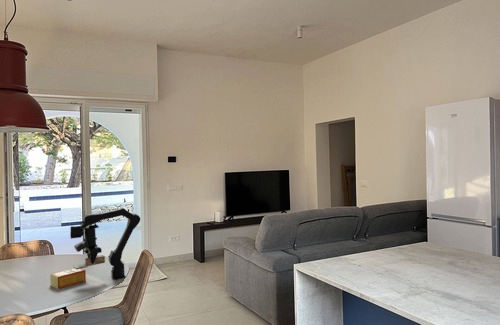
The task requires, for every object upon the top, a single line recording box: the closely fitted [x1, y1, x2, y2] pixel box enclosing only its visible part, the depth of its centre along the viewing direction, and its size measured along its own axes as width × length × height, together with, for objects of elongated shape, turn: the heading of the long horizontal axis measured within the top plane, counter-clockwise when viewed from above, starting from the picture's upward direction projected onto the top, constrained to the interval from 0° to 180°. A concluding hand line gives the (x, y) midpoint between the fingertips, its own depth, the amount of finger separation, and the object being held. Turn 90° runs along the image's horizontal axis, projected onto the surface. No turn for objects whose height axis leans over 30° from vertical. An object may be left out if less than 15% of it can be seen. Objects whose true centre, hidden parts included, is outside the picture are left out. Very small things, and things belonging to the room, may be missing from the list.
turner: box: [73, 254, 106, 269], centre depth 213 cm, size 16×6×4 cm, turn 130°
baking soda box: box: [49, 267, 87, 290], centre depth 213 cm, size 10×6×16 cm
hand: (91, 263), depth 214 cm, fingers closed on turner, 3 cm apart
